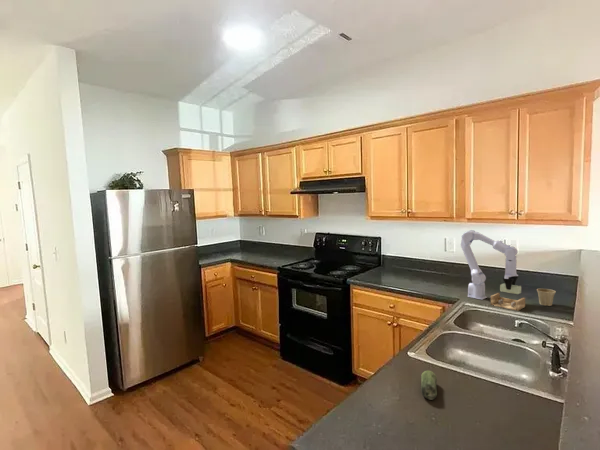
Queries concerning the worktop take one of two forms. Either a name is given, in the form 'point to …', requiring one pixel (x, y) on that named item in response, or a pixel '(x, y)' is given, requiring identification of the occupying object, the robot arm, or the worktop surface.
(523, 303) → the peg cradle
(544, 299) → the flower pot
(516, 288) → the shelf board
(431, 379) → the vegetable
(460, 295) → the worktop surface
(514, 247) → the robot arm
